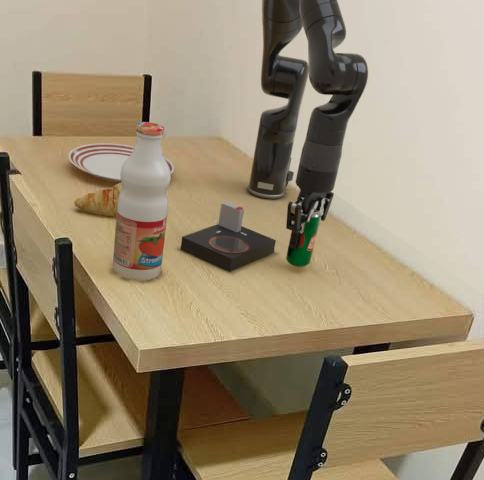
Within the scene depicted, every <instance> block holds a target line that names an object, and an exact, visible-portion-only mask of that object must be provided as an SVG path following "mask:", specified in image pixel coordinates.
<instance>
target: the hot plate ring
mask: <svg viewBox="0 0 484 480" xmlns="http://www.w3.org/2000/svg"><path fill="white" fill-rule="evenodd" d="M209 245H210V246H211V247H212V248H214V249H216V250H218V251H221V252H225V253H232V254H238V253H244V252H246V251H248V249H249V245H248V244H247V243H246V242H244V241H243V240H240V239H238V238H234V237H229V236H217V237H213V238H211V239H210V240H209Z"/></svg>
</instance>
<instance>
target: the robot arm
mask: <svg viewBox="0 0 484 480" xmlns="http://www.w3.org/2000/svg"><path fill="white" fill-rule="evenodd" d="M261 23H262V24H261V26H262V55H261V56H262V57H261V70H260V87H261V90H262V92H263V93H264V94H265V95H268V96H270V97H275V98H280V99H284V100H287V103H286V104H284V105H283V106H280V107H276V108H270V109H266V110H264V111H263V112H261V114H260V118H259V124H258V130H257V134H256V135H257V136H256V142H255V147H254V153H253V159H252V164H251V170H250V176H249V182H248V185H247V191H248V193H250V194H251V195H254V196H255V197H259V198H263V199H272V200H274V199H275V200H276V199H280V198H283V197H284V195H285V193H286V188H287V187H288V184H289V182H292V181H293V178H294V173H295V172H294V171H291V170H290V167H291V163H292V152H293V147H294V141H295V136H296V132H297V127H298V121H299V118H300V112H301V106H302V103H303V99H304V94H305V91H306V87H307V83H308V80H309V82H310V85H311V87H312V88H313V90H314V91H315V92H316V93H318V94H320V95H323V96H331V98H330V99H329V101H327V102H326V103H324V104H320V105H318V106H316V107H314V108H313V109H312V111H311V113H310V116H309V122H308V125H307V130H306V136H305V140H304V143H303V146H302V149H301V153H300V158H299V164H298V167H297V168H298V169H297V172H296V178H295V185H296V186H297V187H298V189H299V193H298V195H297V198H296V200H295V201H289V202H288V203H287V211H286V224H285V226H286V227H285V228H286V229H287V230H290V231H291V232H292V234H291V233H290V236H291V239H290V238H289V241H290V243H289V242H288V246H289V247H290V248H292V249H295V250H298V249H300V246H301V242H302V237H303V231H304V229H305V226H306V223H309V222H310V219H311V217H312V215H313V212H314V210H316V209H317V208H318V210H319V209H320V213H321V218H320V222H319V226H320V225H321V223H322V222H325V221H326V219H327V215H328V213H329V210H330V207H331V204H332V201H333V198H334V194H335V193H334V192H333V191H334V189H335V185H336V180H337V177H338V173H339V167H340V163H341V159H342V154H343V145H344V141H345V137H346V134H347V133H346V132H347V129H348V124H349V121H350V119H351V117H352V115H353V114H354V112H355V110H356V107H357V105H358V103H359V102H360V99H361V98H362V95H363V94H364V91H365V89H366V87H367V84H368V80H369V67H368V64H367V61H366V59H365V57H363V55H360V54H359V53H352V52H351V53H350V52H348V53H347V52H344V53H343V52H335V51H334V49H336V48H338V47H339V46H340V45H342V44H343V43H344V41H345V40H346V37H347V28H346V27H347V26H346V24H345V21H344V17H343V14H342V11H341V8H340V5H339V1H338V0H261ZM302 29H303V31H304V33H305V37H306V40H307V55H308V56H307V58H308V61H307V60H304V59H300V58H295V57H291V56H290V57H289V56H284V55H280V53H281V52H282V51H283V49H285V48H286V47H287V46H288V45H289V44H291V43H292V42H293V41H294V40H295V38H297V36H298V35H299V34H300V33H301V31H302ZM301 213H303V214H305V215H307V216H306V217H302V216H301ZM301 221H302V224H301V226H300V222H301Z"/></svg>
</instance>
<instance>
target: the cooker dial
mask: <svg viewBox="0 0 484 480" xmlns="http://www.w3.org/2000/svg"><path fill="white" fill-rule="evenodd" d="M244 213H245V208H244V207H243V206H238V205H235V204H233V203H230V202H228V201H223V202H221V205H220V212H219V217H218V218H219V219H218V223H217V224H218V225H220V226H222V227H224V228H227V229H229V230H232V231H234V232H239V231H241V226H243V221H244Z"/></svg>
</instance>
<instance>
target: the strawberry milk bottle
mask: <svg viewBox="0 0 484 480" xmlns="http://www.w3.org/2000/svg"><path fill="white" fill-rule="evenodd" d="M135 134H136V142H135V145H134V146H133V147H134V150H133V152H132V154H131V156H130V157H129V158H128V159H127V160H126V161H125V162H124V164H123V166H122V168H121V174H120V176H121V183H122V190H121V192H120V194H119V197H118V204H117V216H116V217H115V229H114V230H115V232H114V233H115V234H114V244H113V257H112V268H113V272H114V273H116V275H117V276H119V277H121V278H123V279H127V280H131V281H137V282H139V281H141V282H142V281H144V282H145V281H150V280H153V279H155V278H157V277H158V276H159V275H160V273H161V270H162V266H163V265H162V264H163V258H164V257H163V256H164V249H165V239H166V231H167V223H168V222H167V221H168V213H169V198H168V195H167V192H168V189H169V187H170V184H171V182H172V181H171V180H172V174H171V172H170V168H169V166H168V165H167V163H166V161H165V159H164V157H165V156H164V151H163V145H162V139H163V138H164V135H165V127H164V125H162V124H160V123H156V122H149V121H140V122H138V123H136V127H135Z"/></svg>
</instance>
